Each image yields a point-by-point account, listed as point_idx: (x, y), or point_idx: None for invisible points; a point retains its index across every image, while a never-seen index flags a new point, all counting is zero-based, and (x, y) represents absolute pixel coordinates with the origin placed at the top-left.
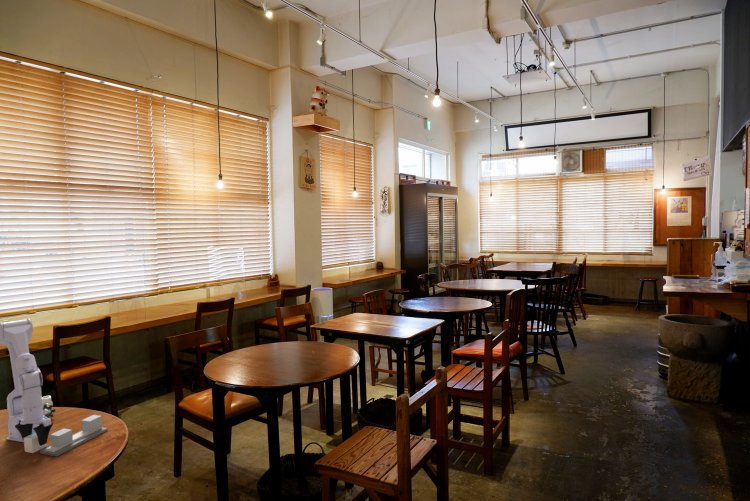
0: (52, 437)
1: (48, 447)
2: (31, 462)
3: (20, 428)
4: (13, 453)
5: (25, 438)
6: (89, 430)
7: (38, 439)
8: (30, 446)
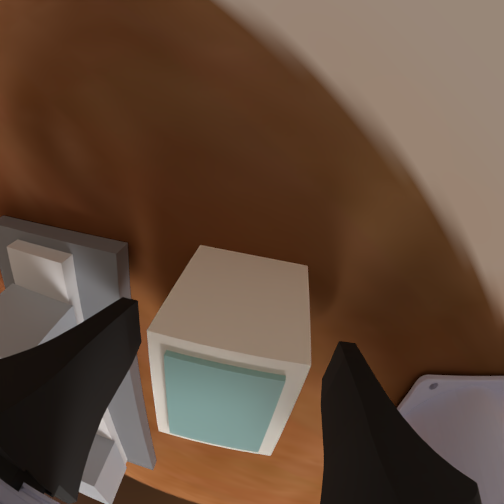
0: (13, 343)
1: (61, 279)
2: (65, 108)
3: (385, 488)
4: (388, 227)
5: (272, 356)
6: None
7: (91, 331)
8: (208, 281)
